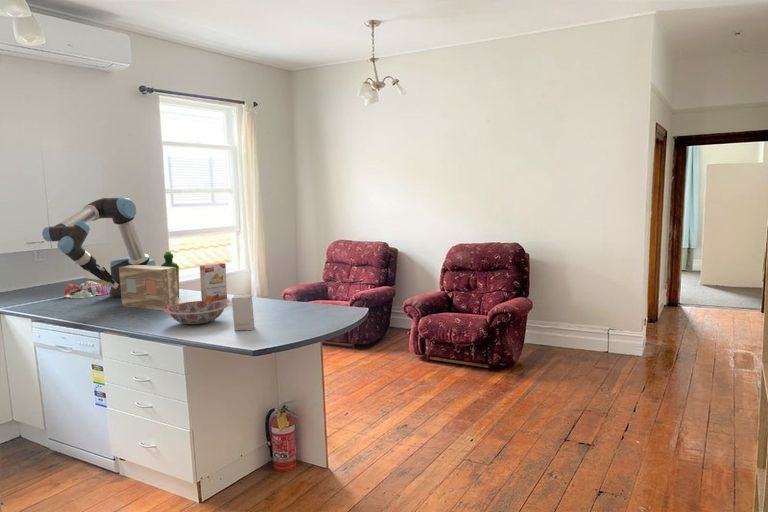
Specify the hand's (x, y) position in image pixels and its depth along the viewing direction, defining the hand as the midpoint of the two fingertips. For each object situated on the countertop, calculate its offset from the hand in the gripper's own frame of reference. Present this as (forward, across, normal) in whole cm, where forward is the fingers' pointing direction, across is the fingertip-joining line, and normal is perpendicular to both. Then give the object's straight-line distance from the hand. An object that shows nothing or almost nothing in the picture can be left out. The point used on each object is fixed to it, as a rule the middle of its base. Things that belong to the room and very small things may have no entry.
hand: (116, 286), depth 307 cm
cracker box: (+39, +30, +20) cm, 53 cm away
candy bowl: (+27, -60, +7) cm, 66 cm away
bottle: (+34, +1, +15) cm, 37 cm away
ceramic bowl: (+6, +64, -12) cm, 65 cm away
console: (+19, +8, +1) cm, 21 cm away
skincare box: (+5, +94, -13) cm, 95 cm away
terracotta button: (+11, +16, +4) cm, 20 cm away
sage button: (+11, 0, +4) cm, 12 cm away
